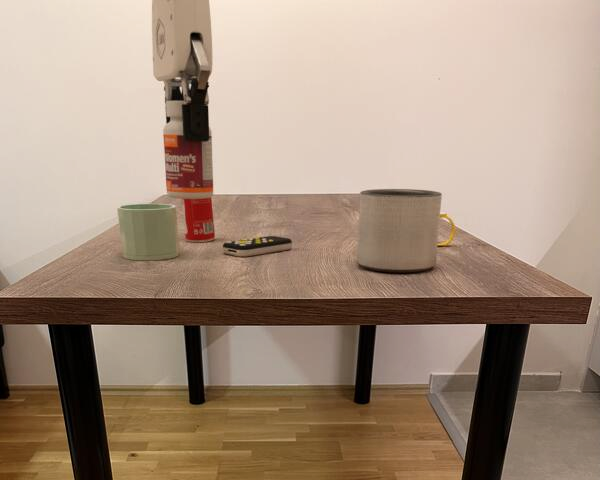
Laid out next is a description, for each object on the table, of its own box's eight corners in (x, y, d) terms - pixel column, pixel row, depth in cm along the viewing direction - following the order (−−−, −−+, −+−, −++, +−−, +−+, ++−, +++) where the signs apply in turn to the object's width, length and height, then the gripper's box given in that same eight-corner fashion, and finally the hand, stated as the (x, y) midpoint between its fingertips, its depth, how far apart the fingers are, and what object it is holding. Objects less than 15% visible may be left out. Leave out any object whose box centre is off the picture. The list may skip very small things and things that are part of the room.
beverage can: (219, 238, 127) (215, 156, 120) (206, 244, 121) (201, 158, 114) (192, 237, 128) (186, 156, 122) (177, 242, 122) (171, 157, 116)
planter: (411, 257, 109) (416, 187, 104) (450, 271, 98) (459, 194, 93) (343, 261, 105) (346, 189, 100) (377, 276, 94) (382, 196, 89)
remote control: (295, 249, 116) (295, 237, 115) (242, 258, 108) (242, 245, 107) (272, 245, 120) (272, 234, 119) (219, 253, 112) (218, 241, 111)
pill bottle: (159, 198, 83) (153, 99, 78) (177, 194, 88) (172, 102, 83) (204, 200, 81) (200, 100, 77) (220, 196, 87) (217, 103, 82)
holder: (138, 262, 104) (133, 211, 100) (113, 254, 110) (107, 205, 107) (189, 256, 109) (185, 207, 106) (162, 249, 116) (158, 202, 112)
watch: (451, 245, 121) (455, 212, 118) (454, 247, 118) (457, 213, 116) (420, 244, 121) (422, 211, 119) (421, 247, 119) (424, 213, 116)
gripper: (130, -20, 80) (141, 139, 87) (169, -51, 66) (179, 141, 73) (187, -12, 83) (194, 140, 90) (237, -41, 69) (240, 142, 76)
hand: (187, 139), depth 82 cm, fingers closed on pill bottle, 6 cm apart
